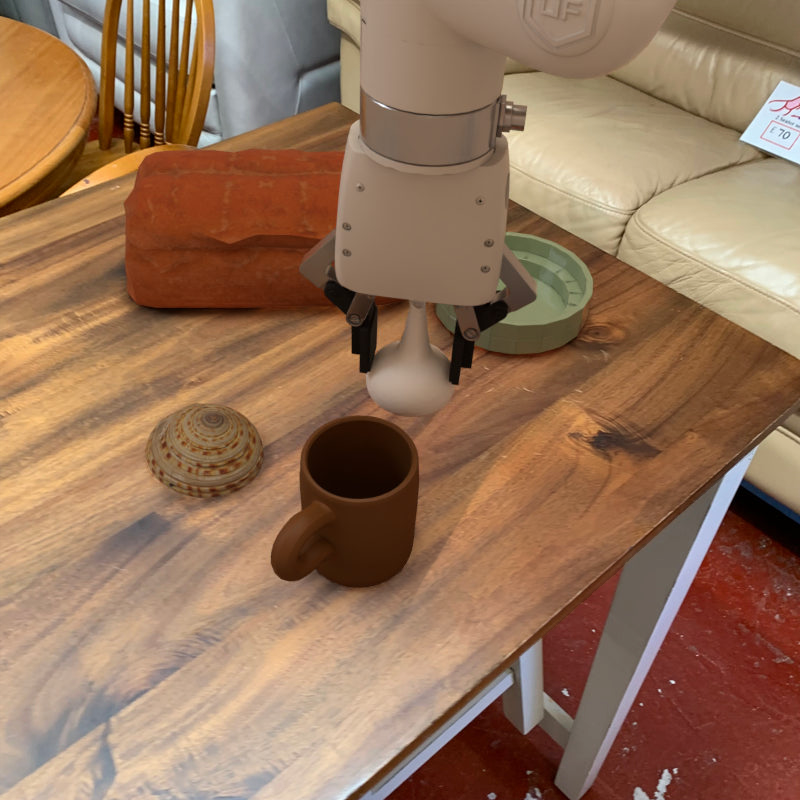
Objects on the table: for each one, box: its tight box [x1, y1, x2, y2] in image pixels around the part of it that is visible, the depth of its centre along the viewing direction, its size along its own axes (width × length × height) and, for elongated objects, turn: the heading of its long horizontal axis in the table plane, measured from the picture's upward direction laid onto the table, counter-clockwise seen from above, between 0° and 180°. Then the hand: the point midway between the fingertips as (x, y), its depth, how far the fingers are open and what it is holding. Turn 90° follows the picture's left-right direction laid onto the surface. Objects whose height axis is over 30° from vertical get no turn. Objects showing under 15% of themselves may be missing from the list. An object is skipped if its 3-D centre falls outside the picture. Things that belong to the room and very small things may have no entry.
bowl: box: [433, 231, 594, 355], centre depth 76 cm, size 14×14×4 cm
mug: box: [270, 414, 420, 589], centre depth 53 cm, size 12×8×9 cm, turn 146°
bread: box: [123, 148, 406, 309], centre depth 77 cm, size 16×27×11 cm, turn 94°
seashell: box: [145, 402, 265, 499], centre depth 62 cm, size 8×6×8 cm
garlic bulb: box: [365, 300, 456, 418], centre depth 57 cm, size 6×6×8 cm
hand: (411, 363), depth 57 cm, fingers closed on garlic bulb, 5 cm apart
